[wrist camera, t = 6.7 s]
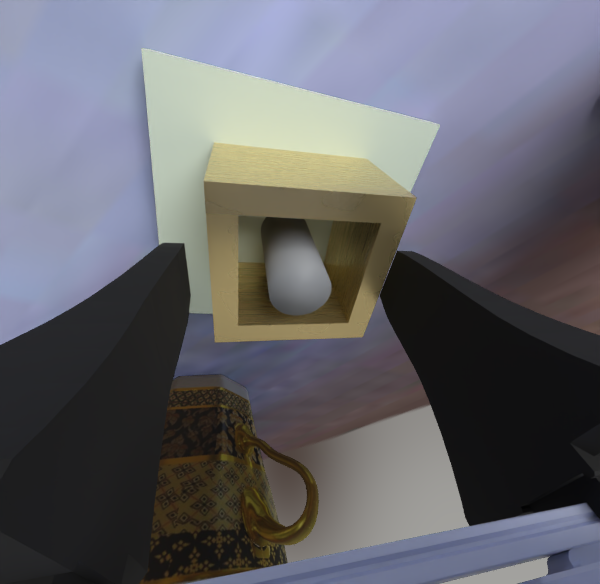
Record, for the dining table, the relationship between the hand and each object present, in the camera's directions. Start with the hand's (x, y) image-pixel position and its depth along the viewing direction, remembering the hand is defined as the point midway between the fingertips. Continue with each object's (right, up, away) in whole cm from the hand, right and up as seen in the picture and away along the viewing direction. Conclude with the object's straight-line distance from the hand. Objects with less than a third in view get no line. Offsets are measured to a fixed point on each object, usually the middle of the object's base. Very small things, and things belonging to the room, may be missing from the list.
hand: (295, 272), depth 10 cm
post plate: (-1, +2, +3) cm, 4 cm away
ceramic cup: (-6, -7, +10) cm, 14 cm away
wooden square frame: (0, +2, +2) cm, 3 cm away
